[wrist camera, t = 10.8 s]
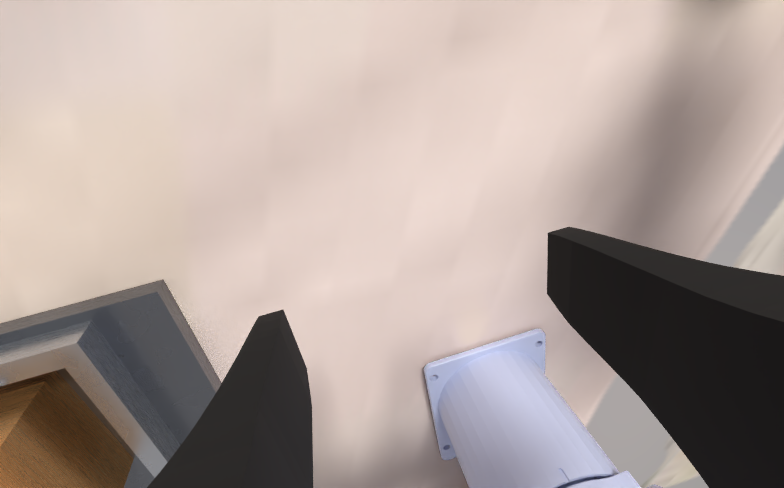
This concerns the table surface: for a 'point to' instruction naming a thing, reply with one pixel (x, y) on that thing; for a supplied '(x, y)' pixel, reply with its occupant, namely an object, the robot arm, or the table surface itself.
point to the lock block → (55, 439)
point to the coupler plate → (121, 368)
